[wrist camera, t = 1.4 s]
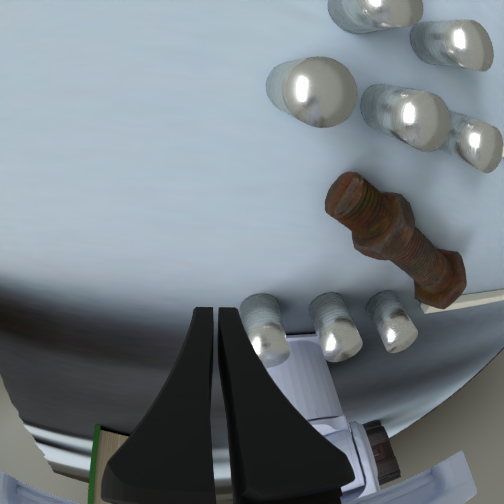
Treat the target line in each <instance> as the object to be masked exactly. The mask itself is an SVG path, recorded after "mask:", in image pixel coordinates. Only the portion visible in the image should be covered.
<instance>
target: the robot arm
mask: <svg viewBox="0 0 504 504" xmlns="http://www.w3.org/2000/svg"><path fill="white" fill-rule="evenodd" d="M213 327H214V321H213V307H196V308H195V309H194V310H193V316H192V320H191V324H190V327H189V330H188V333H187V336H186V338H185V341H184V343H183V346H182V348H181V351H180V353H179V356H178V358H177V360H176V362H175V364H174V366H173V368H172V370H171V373H170V374H169V376H168V378H167V380H166V382H165V384H164V386H163V387H162V389H161V391H160V393H159V394H158V396H157V398H156V399H155V401H154V402H153V404H152V405H151V407H150V408H149V410H148V412H147V413H146V414H145V416H144V417H143V419H142V420H141V421H140V423H139V424H138V425H137V427H136V428H135V429H134V431H133V432H132V433H131V435H130V436H129V437H128V438H127V440H126V441H125V442H124V443H123V444H122V445H121V446H120V448H119V449H118V450H117V451H116V452H115V453H114V454H113V455H112V457H111V458H110V459H109V460H108V462H107V464H106V467H105V469H104V473H103V477H102V481H101V499H102V500H103V501H105V502H108V503H111V504H216V495H215V484H214V472H213V458H212V443H211V426H210V408H211V390H212V374H213ZM286 337H287V341H288V345H289V349H290V356H289V358H288V359H287V360H286V361H285V362H283V363H282V364H280V365H278V366H275V367H271V368H265V367H264V365H263V364H262V362H261V360H260V358H259V357H258V355H257V353H256V351H255V349H254V347H253V346H252V344H251V342H250V340H249V338H248V335H247V333H246V331H245V329H244V326H243V324H242V321H241V318H240V315H239V312H238V309H236V308H230V307H219V314H218V366H219V373H220V380H221V386H222V393H223V399H224V405H225V411H226V418H227V428H228V442H229V455H230V468H231V480H232V493H233V504H463V503H465V502H466V501H467V500H469V499H470V498H472V497H473V496H474V495H476V493H477V490H476V487H475V484H474V481H473V478H472V475H471V472H470V469H469V467H468V464H467V461H466V459H465V456H464V454H463V452H462V451H460V452H458V453H456V454H455V455H453V456H451V457H449V458H448V459H446V460H444V461H442V462H440V463H439V464H437V465H435V466H433V467H432V468H430V469H428V470H426V471H424V472H422V473H420V474H418V475H416V476H414V477H412V478H410V479H408V480H405V481H403V482H401V483H398V484H396V485H393V486H391V487H388V488H386V489H383V490H380V486H379V482H378V478H377V476H378V471H377V467H376V463H375V459H374V455H373V452H372V449H371V446H370V442H369V440H368V437H367V434H366V431H365V429H364V427H363V425H361V424H359V423H357V422H356V421H353V422H351V423H349V424H350V428H351V431H352V433H351V434H352V437H353V440H352V437H351V434H350V430H349V427H348V424H347V421H346V418H345V415H343V412H342V409H341V405H340V402H339V399H338V396H337V393H336V390H335V387H334V384H333V381H332V378H331V374H330V371H329V368H328V365H327V362H326V359H325V357H324V354H323V352H322V349H321V346H320V343H319V340H318V337H317V334H304V335H286ZM353 441H354V443H353ZM360 466H361V467H360ZM361 468H362V471H361ZM0 504H80V503H77V502H73V501H70V500H67V499H64V498H61V497H58V496H55V495H52V494H49V493H47V492H44V491H41V490H39V489H37V488H34V487H32V486H30V485H27V484H25V483H23V482H21V481H19V480H16V479H15V478H13V477H11V476H9V475H7V474H5V473H3V472H1V471H0Z"/></svg>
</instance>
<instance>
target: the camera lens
mask: <svg viewBox="0 0 504 504" xmlns="http://www.w3.org/2000/svg"><path fill="white" fill-rule="evenodd" d="M363 427H364V429H365V431H366V434H367V437H368V440H369V442H370V446H371V449H372V452H373V455H374V459H375V463H376V467H377V471H378V476H377V478H378V482H379V486H380V485H382V484H385V483H388V482H390V481H392V480H395V479H397V478H400V477H401V475H400V469H399V466H398V463H397V460H396V457H395V456H394V453H393V450H392V447H391V444H390V441H389V438H388V435H387V432H386V431H385V428H384V427H383V426H382V425H381V423H380V421H372V422H368V423H366V424H363ZM351 433H352V432H351ZM352 440H353V437H352ZM353 443H354V441H353ZM360 467H361V466H360ZM361 471H362V468H361Z"/></svg>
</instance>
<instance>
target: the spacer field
mask: <svg viewBox="0 0 504 504" xmlns="http://www.w3.org/2000/svg"><path fill="white" fill-rule="evenodd" d="M328 11H329V14H330V16H331V18H332V20H333V21H334V22H335V23H336V24H337V25H338V26H339V27H340V28H342V29H343V30H345V31H347V32H350V33H354V34H361V33H366V32H372V31H378V30H384V29H390V28H397V27H406V26H412V25H414V26H413V27H412V29H411V32H410V41H411V45H412V48H413V50H414V51H415V53H416V54H417V56H418V57H419V58H420V59H421V60H423V61H424V62H426V63H430V64H439V65H447V66H455V67H461V68H468V69H473V70H479V71H487V70H488V69H489V68H490V67H491V65H492V63H493V56H494V53H493V46H492V42H491V40H490V37H489V35H488V33H487V32H486V30H485V29H484V28H483V27H482V26H481V25H480V24H479V23H478V22H476V21H473V20H446V21H430V22H419V20H420V19H421V17H422V14H423V3H422V0H329V1H328ZM418 22H419V23H418ZM266 92H267V95H268V97H269V99H270V101H271V102H272V103H273V105H274V106H276V107H277V108H278V109H280V110H282V111H284V112H286V113H288V114H290V115H291V116H293V117H295V118H297V119H299V120H301V121H302V122H304V123H306V124H308V125H311V126H314V127H320V128H327V127H332V126H335V125H338V124H340V123H341V122H343V121H344V120H346V119H347V118H348V117H349V116H350V114H351V113H352V111H353V109H354V107H355V105H356V101H357V87H356V83H355V80H354V78H353V76H352V74H351V73H350V72H349V70H348V69H347V68H346V67H345V66H344V65H342V64H341V63H339V62H338V61H336V60H334V59H331V58H327V57H311V58H306V59H300V60H295V61H290V62H286V63H282V64H280V65H278V66H276V67H275V68H274V69H273V70H272V71H271V72H270V74H269V76H268V78H267V82H266ZM360 108H361V113H362V116H363V118H364V120H365V121H366V123H367V124H368V125H369V126H371V127H372V128H374V129H376V130H379V131H381V132H383V133H385V134H388V135H390V136H392V137H394V138H396V139H398V140H401V141H403V142H405V143H407V144H409V145H411V146H413V147H415V148H417V149H419V150H421V151H424V152H431V151H434V150H436V149H438V148H440V149H442V150H444V151H446V152H448V153H450V154H452V155H454V156H455V157H457V158H459V159H461V160H463V161H465V162H466V163H468V164H470V165H472V166H473V167H475V168H477V169H479V170H480V171H482V172H484V173H490V172H492V171H493V170H494V169H495V168H496V167H497V166H498V164H499V162H500V160H501V157H502V153H503V139H502V136H501V133H500V131H499V130H498V129H497V128H496V127H494V126H492V125H489V124H487V123H484V122H482V121H479V120H476V119H474V118H471V117H468V116H465V115H463V114H460V113H457V112H454V111H451V110H448V109H447V106H446V105H445V103H444V102H443V100H442V99H441V98H440V97H438V96H437V95H435V94H433V93H429V92H424V91H419V90H414V89H409V88H404V87H398V86H392V85H386V84H375V85H372V86H370V87H369V88H368V89H367V90H366V91H365V92H364V94H363V96H362V98H361V104H360ZM366 310H367V312H368V314H369V316H370V318H371V320H372V322H373V324H374V326H375V328H376V330H377V331H378V333H379V335H380V337H381V339H382V341H383V343H384V345H385V347H386V349H387V351H388V352H389V353H396V352H400V351H402V350H404V349H406V348H407V347H408V346H410V345H411V344H412V343H413V342H414V341H415V340H416V338H417V336H418V331H417V329H416V328H415V326H414V324H413V323H412V321H411V319H410V318H409V316H408V314H407V313H406V311H405V310H404V308H403V307H402V305H401V303H400V302H399V300H398V299H397V297H396V296H395V294H394V293H393V292H392V291H382V292H380V293H378V294H376V295H375V296H373V297H372V298H371V299H370V301H369V302H368V304H367V307H366ZM240 314H241V321H242V324H243V326H244V329H245V331H246V333H247V335H248V338H249V340H250V342H251V344H252V346H253V347H254V349H255V351H256V353H257V355H258V357H259V358H260V360H261V362H262V364H263V365H264V367H265V368H271V367H275V366H278V365H280V364H282V363H283V362H285V361H286V360H287V359H288V358H289V356H290V349H289V345H288V341H287V337H286V333H285V329H284V325H283V321H282V317H281V314H280V310H279V306H278V302H277V300H276V299H275V298H274V297H272V296H271V295H268V294H256V295H252V296H250V297H248V298H246V299H245V300H244V301H243V302H242V304H241V306H240ZM309 314H310V317H311V320H312V322H313V325H314V328H315V331H316V334H317V337H318V340H319V343H320V346H321V349H322V352H323V354H324V357H325V359H326V360H327V361H329V362H340V361H344V360H346V359H349V358H351V357H352V356H354V355H355V354H356V353H358V352H359V350H360V349H361V347H362V345H363V342H362V340H361V337H360V335H359V333H358V331H357V329H356V327H355V324H354V322H353V320H352V318H351V316H350V314H349V312H348V310H347V307H346V305H345V303H344V301H343V299H342V297H341V296H340V295H339V294H336V293H326V294H322V295H320V296H318V297H317V298H315V299H314V300H313V301H312V302H311V304H310V306H309Z"/></svg>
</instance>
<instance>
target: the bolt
mask: <svg viewBox="0 0 504 504" xmlns="http://www.w3.org/2000/svg"><path fill="white" fill-rule="evenodd" d="M325 211H326V213H327V214H329V215H330V216H331V217H333V218H334V219H336V220H338V221H339V222H341V224H343V225H345V226H346V227H347V228H349V229H350V230H351V231H352V240H353V244H354V248H355V249H356V250H358V251H359V252H361V253H362V254H363V255H365V256H368V257H371V258H375V259H379V260H390V261H392V262H393V263H394V264H395V265H397V266H398V267H399V268H401V269H402V270H403V271H405V272H406V273H407V274H408V275H409V276H410V277H411V278H413V279H414V286H415V299H417V300H418V301H419V302H421V303H424V304H426V305H429V306H432V307H435V308H438V309H443V310H444V309H446V308H447V307H449V306H450V305H451V304H452V303H454V302H455V301H456V300H457V299H458V298H459V297H460V295H461V294H462V293H463V291H464V289H465V288H466V273H465V267H464V263H463V260H462V257H461V256H460V254H459V253H458V252H453V251H447V250H440V249H436V248H435V247H434V246H433V245H432V243H431V242H430V241H429V240H428V239H427V238H426V237H425V236H424V235H423V234H422V233H421V232H420V231H419V230H418V229H417V228H416V227H415V222H414V216H413V212H412V209H411V206H410V203H409V202H408V201H407V200H406V199H405V198H404V197H403V196H402V195H401V194H397V193H391V192H384V193H380V192H379V191H378V190H377V189H376V188H374V186H372V185H371V184H370V183H369V182H368V181H367V180H365V179H364V178H363V177H362V176H361V175H360V174H359V175H358V173H352V172H346V173H344V174H342V175H341V176H340V177H339V178H338V179H337V180H336V181H335V182H334V183H333V184H332V186H331V187H330V189H329V191H328V194H327V197H326V199H325Z"/></svg>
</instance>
